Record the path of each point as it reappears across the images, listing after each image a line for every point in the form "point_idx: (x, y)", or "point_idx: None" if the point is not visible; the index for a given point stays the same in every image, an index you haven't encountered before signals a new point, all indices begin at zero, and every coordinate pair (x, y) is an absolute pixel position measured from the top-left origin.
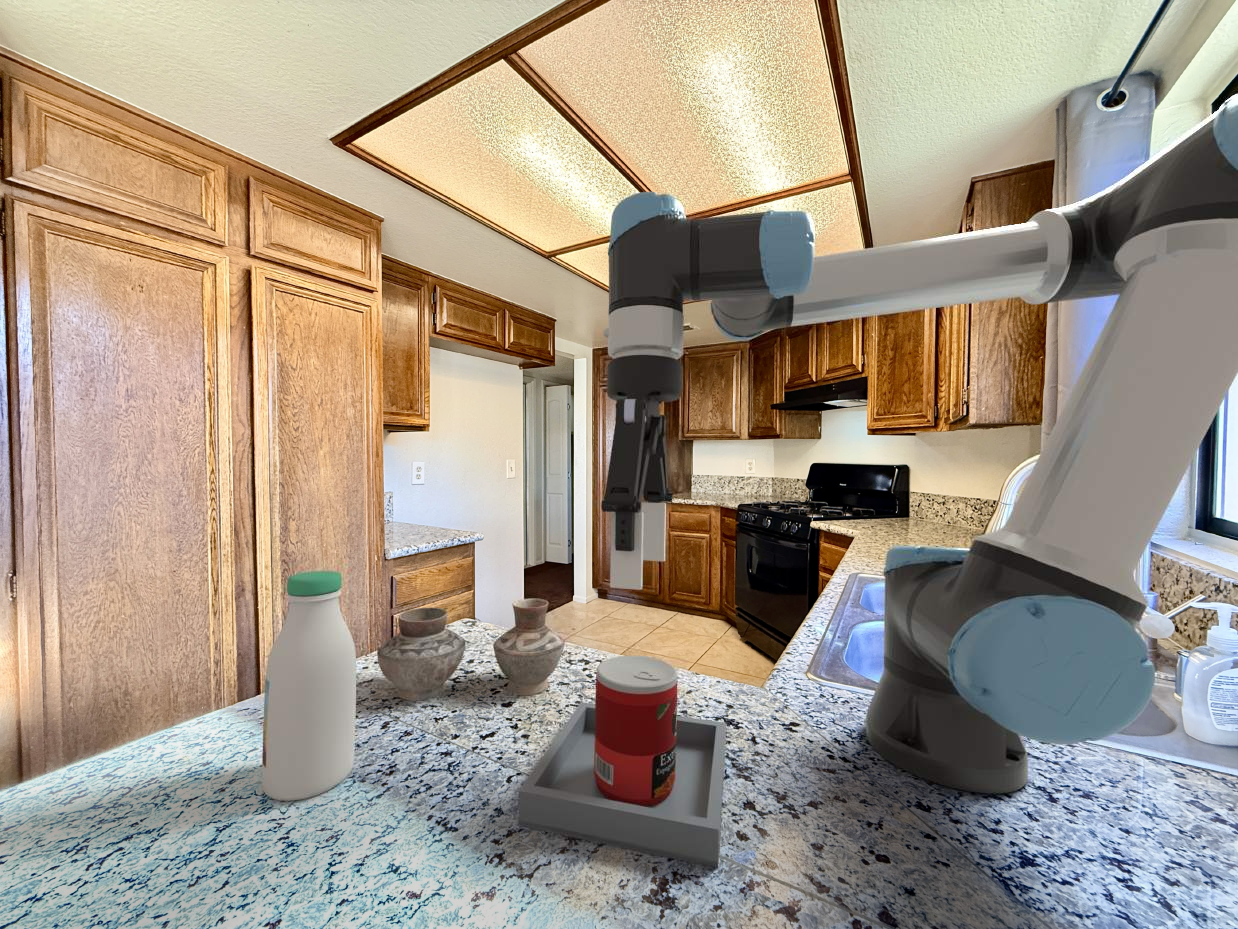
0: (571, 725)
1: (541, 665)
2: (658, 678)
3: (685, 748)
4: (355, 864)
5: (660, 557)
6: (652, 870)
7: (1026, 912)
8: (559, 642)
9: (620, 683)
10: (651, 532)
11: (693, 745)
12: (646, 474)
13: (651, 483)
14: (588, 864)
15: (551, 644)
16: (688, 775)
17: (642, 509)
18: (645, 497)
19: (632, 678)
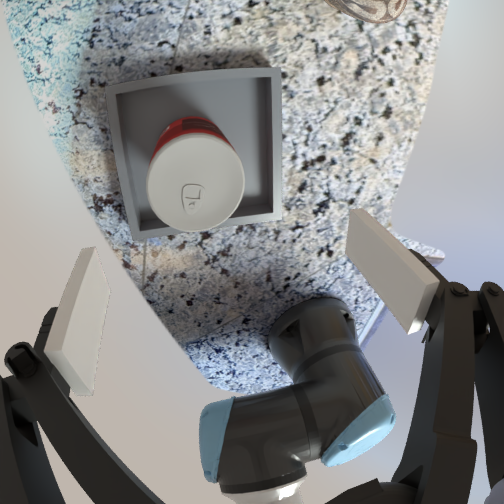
0: (225, 76)
1: (333, 3)
2: (188, 213)
3: (259, 179)
4: (45, 18)
5: (348, 251)
6: (115, 192)
7: (182, 345)
8: (373, 17)
9: (147, 184)
10: (377, 262)
11: (266, 184)
12: (433, 377)
13: (432, 355)
14: (100, 152)
15: (360, 9)
16: None
17: (414, 276)
18: (443, 297)
19: (178, 185)
